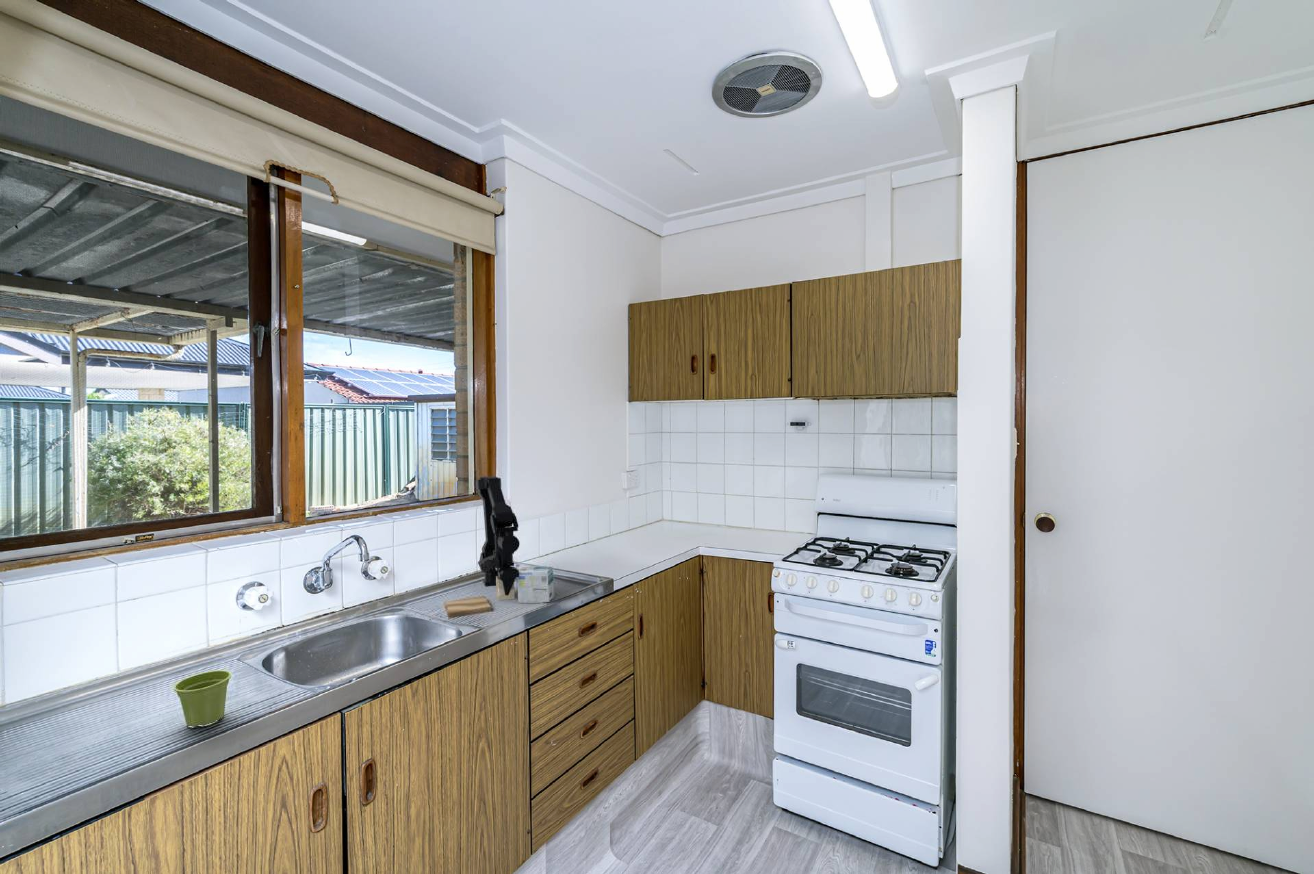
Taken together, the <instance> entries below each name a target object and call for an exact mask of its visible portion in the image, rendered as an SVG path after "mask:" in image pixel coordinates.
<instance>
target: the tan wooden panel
mask: <svg viewBox="0 0 1314 874" xmlns="http://www.w3.org/2000/svg"><path fill="white" fill-rule="evenodd" d="M444 608H445V612H446V615H447V617H448V619H452V618H457V617H465V616H470V615H471V616H472V615H477V614H484V613H490V612H493V606H491V603H490V602H489V601H488V599H487V597H486V596H485V595H483V596H477V597H469V598H463V599H462V598H461V599H456V600H448V601H445V602H444Z"/></svg>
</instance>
